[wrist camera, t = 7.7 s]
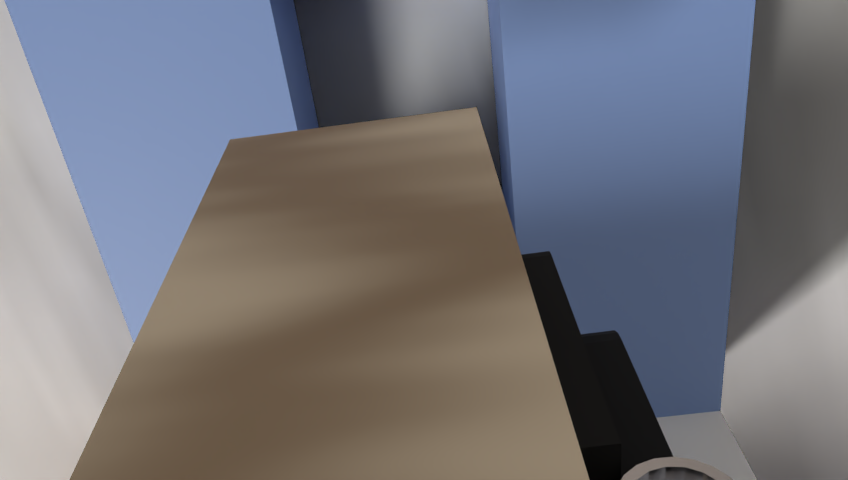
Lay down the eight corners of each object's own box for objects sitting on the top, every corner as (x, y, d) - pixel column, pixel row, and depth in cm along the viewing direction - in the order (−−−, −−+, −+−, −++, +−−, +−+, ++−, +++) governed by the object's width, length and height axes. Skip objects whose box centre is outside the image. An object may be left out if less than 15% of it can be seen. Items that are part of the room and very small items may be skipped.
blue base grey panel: (717, -220, 20) (1498, -298, 6) (683, 388, 29) (941, 913, 15) (28, -125, 20) (-800, 18, 6) (218, 439, 30) (58, 988, 16)
